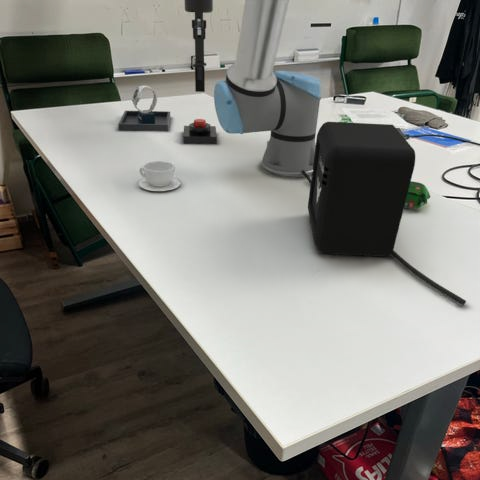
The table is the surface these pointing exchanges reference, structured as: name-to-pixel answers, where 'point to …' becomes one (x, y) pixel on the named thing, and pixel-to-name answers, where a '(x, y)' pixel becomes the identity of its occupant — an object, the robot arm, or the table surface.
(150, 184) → the teacup
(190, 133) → the control block
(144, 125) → the tray
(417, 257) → the table surface
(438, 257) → the table surface
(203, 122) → the button
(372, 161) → the air purifier
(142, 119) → the watch
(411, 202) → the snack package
